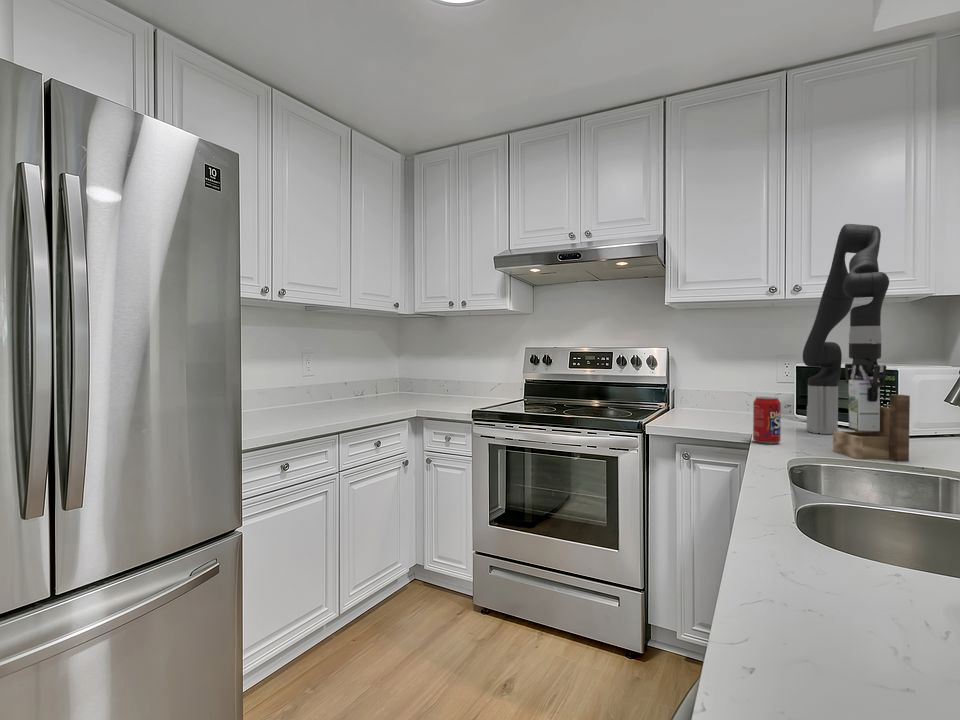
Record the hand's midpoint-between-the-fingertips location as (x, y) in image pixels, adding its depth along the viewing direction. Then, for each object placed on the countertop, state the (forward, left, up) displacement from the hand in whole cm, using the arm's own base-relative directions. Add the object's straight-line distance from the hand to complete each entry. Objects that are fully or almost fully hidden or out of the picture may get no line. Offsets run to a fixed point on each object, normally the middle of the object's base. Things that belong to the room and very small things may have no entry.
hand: (864, 400), depth 148 cm
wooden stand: (0, 0, -16) cm, 16 cm away
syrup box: (0, 0, -9) cm, 9 cm away
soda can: (-19, -18, -16) cm, 31 cm away
